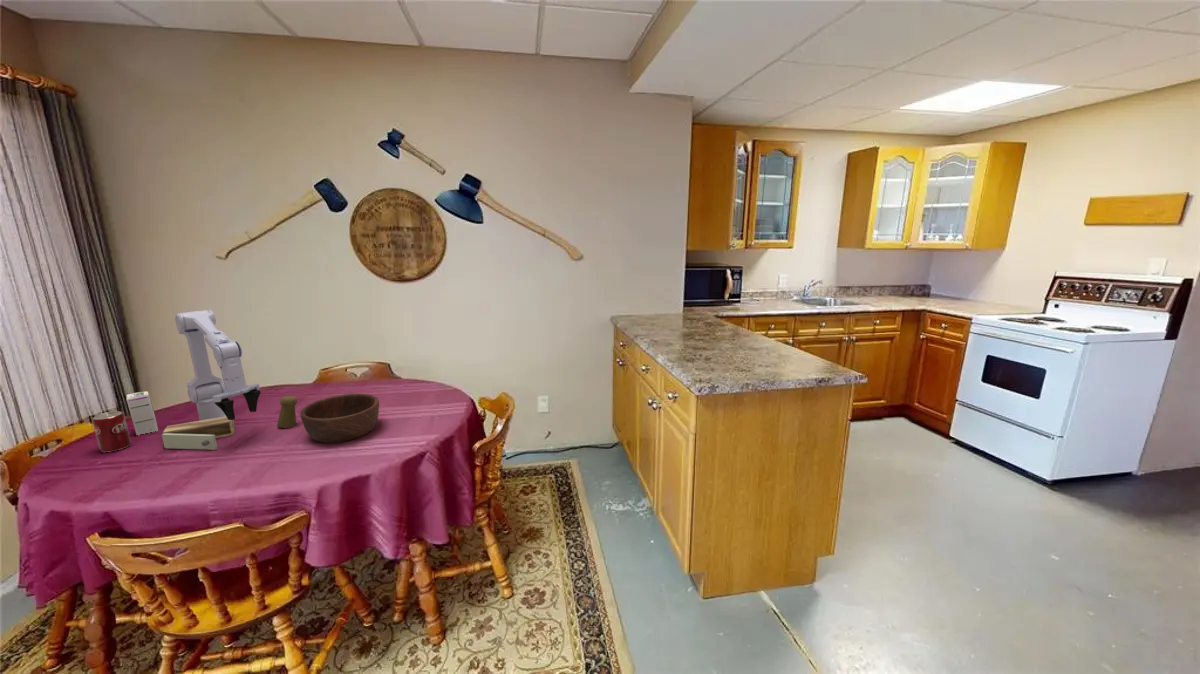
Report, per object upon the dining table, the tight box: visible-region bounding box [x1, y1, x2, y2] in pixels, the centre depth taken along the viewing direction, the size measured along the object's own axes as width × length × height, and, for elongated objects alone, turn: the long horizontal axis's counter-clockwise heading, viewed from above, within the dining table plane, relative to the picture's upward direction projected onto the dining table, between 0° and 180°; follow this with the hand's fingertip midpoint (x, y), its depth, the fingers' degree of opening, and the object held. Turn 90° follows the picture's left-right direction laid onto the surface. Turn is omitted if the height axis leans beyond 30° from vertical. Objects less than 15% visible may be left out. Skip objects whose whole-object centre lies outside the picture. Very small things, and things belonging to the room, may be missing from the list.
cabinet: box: [162, 416, 237, 439], centre depth 159 cm, size 6×18×6 cm, turn 123°
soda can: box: [91, 411, 132, 453], centre depth 150 cm, size 7×7×12 cm
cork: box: [277, 395, 298, 429], centre depth 169 cm, size 6×6×11 cm
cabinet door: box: [161, 433, 218, 451], centre depth 150 cm, size 2×18×5 cm, turn 88°
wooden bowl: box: [300, 393, 380, 444], centre depth 165 cm, size 25×25×10 cm
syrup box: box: [126, 390, 159, 436], centre depth 162 cm, size 6×6×14 cm
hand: (242, 415), depth 154 cm, fingers open, 7 cm apart
